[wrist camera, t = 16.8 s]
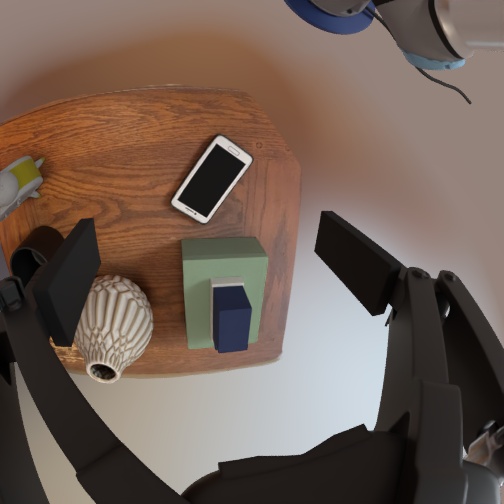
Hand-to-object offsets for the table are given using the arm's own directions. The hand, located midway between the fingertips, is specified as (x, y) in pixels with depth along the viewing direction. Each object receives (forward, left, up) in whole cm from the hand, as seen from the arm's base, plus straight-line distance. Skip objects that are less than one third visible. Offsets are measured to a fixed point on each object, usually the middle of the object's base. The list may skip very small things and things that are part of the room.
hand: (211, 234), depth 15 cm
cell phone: (-5, +2, -32) cm, 33 cm away
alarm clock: (+27, +12, -32) cm, 44 cm away
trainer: (-14, +21, -24) cm, 35 cm away
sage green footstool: (-14, +21, -32) cm, 41 cm away
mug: (+20, +24, -32) cm, 45 cm away
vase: (+5, +30, -32) cm, 44 cm away
